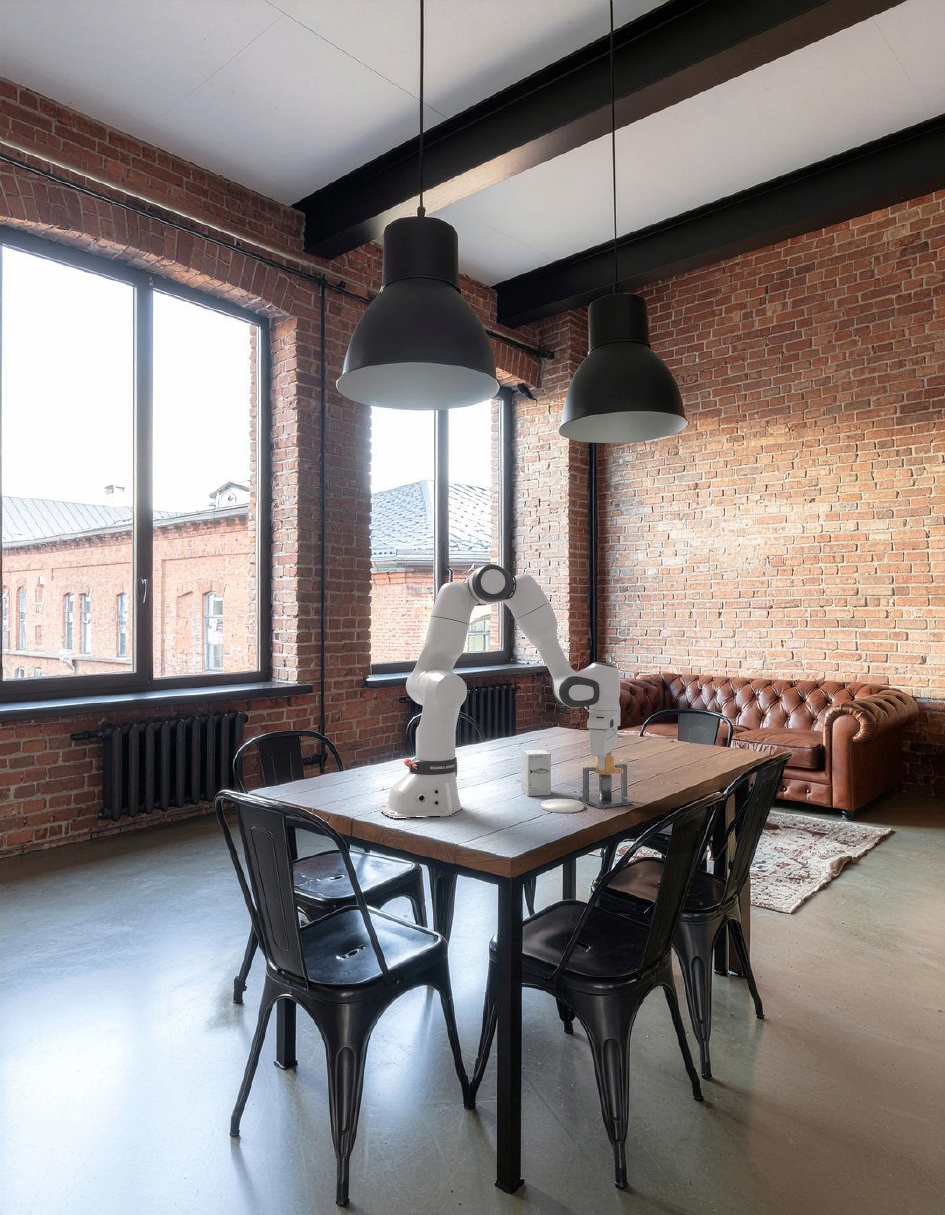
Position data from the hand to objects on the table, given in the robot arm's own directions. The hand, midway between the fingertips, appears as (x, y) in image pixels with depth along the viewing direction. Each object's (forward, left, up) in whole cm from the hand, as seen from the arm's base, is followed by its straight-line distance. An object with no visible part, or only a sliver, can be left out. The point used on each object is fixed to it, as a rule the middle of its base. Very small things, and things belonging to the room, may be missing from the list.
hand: (604, 767), depth 224 cm
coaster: (-14, 0, -10) cm, 17 cm away
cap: (0, 0, -1) cm, 1 cm away
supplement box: (-13, +18, -10) cm, 24 cm away
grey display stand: (0, 0, -10) cm, 10 cm away
